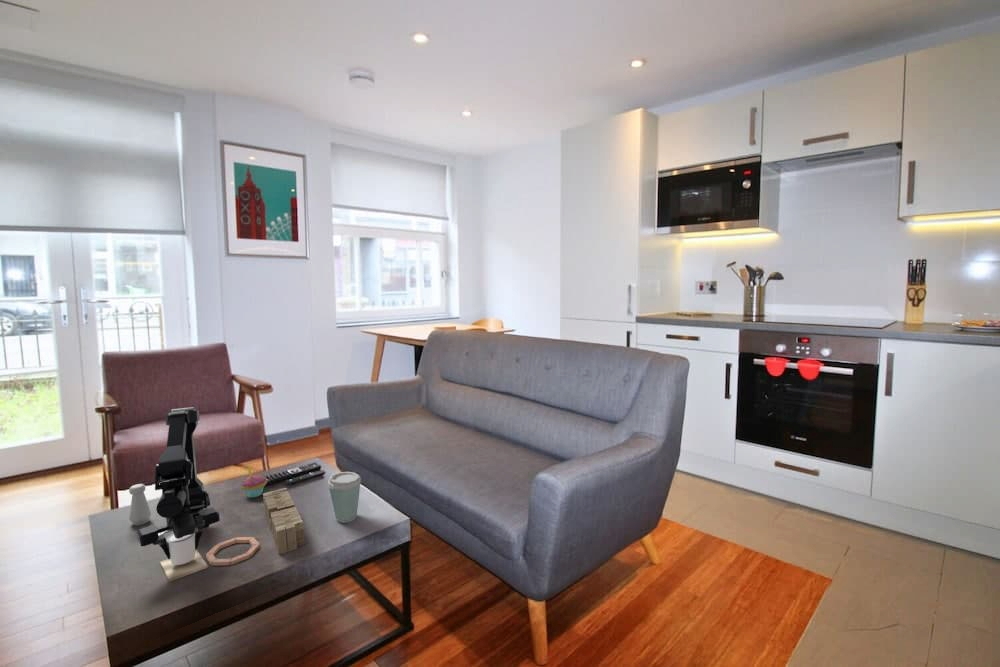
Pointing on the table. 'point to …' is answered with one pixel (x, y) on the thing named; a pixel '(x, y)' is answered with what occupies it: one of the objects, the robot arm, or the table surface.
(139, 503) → the salt shaker
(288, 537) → the block tower
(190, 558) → the white cylinder
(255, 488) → the cupcake
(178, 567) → the beige flat pad
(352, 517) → the disposable coffee cup
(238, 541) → the ring coaster
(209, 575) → the table surface
